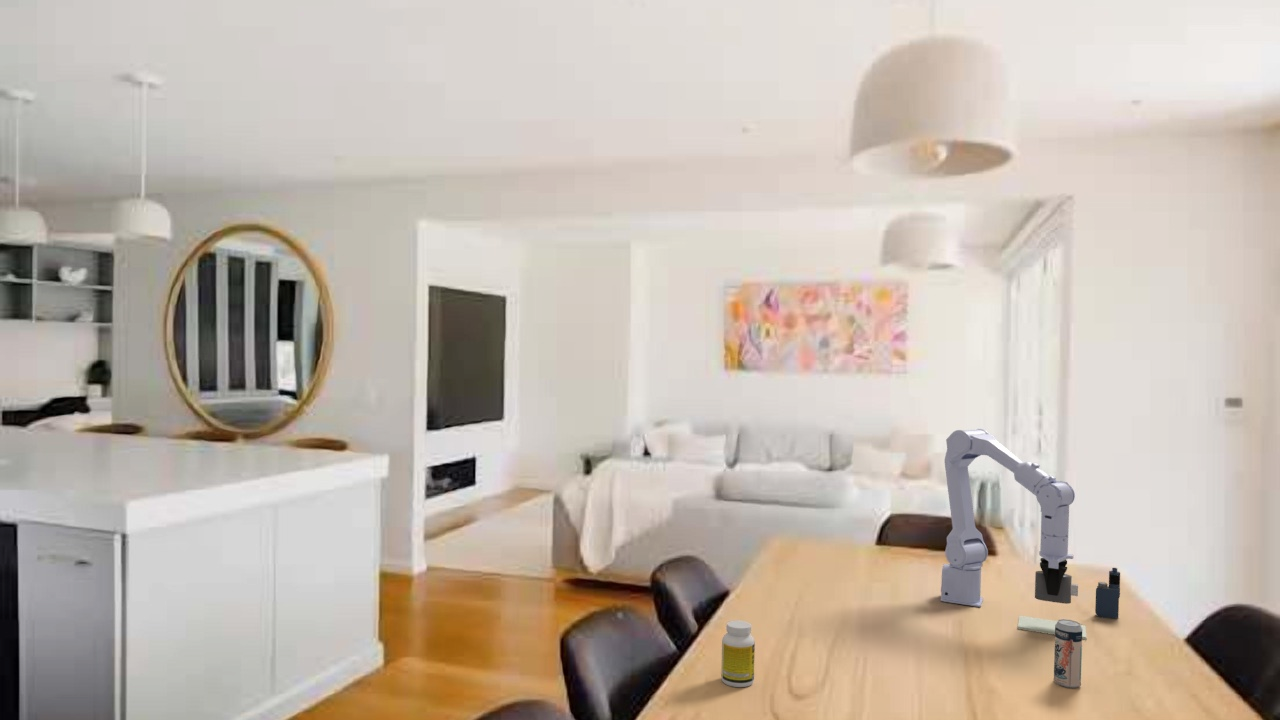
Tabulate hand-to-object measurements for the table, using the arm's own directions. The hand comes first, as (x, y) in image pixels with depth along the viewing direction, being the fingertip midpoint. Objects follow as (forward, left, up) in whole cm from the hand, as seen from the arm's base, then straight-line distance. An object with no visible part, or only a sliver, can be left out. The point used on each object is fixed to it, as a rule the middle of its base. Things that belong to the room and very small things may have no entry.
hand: (1052, 592), depth 192 cm
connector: (0, 0, -2) cm, 2 cm away
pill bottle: (-53, -66, -9) cm, 85 cm away
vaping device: (+12, +17, -9) cm, 23 cm away
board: (0, 0, -8) cm, 8 cm away
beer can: (+3, -35, -9) cm, 36 cm away
